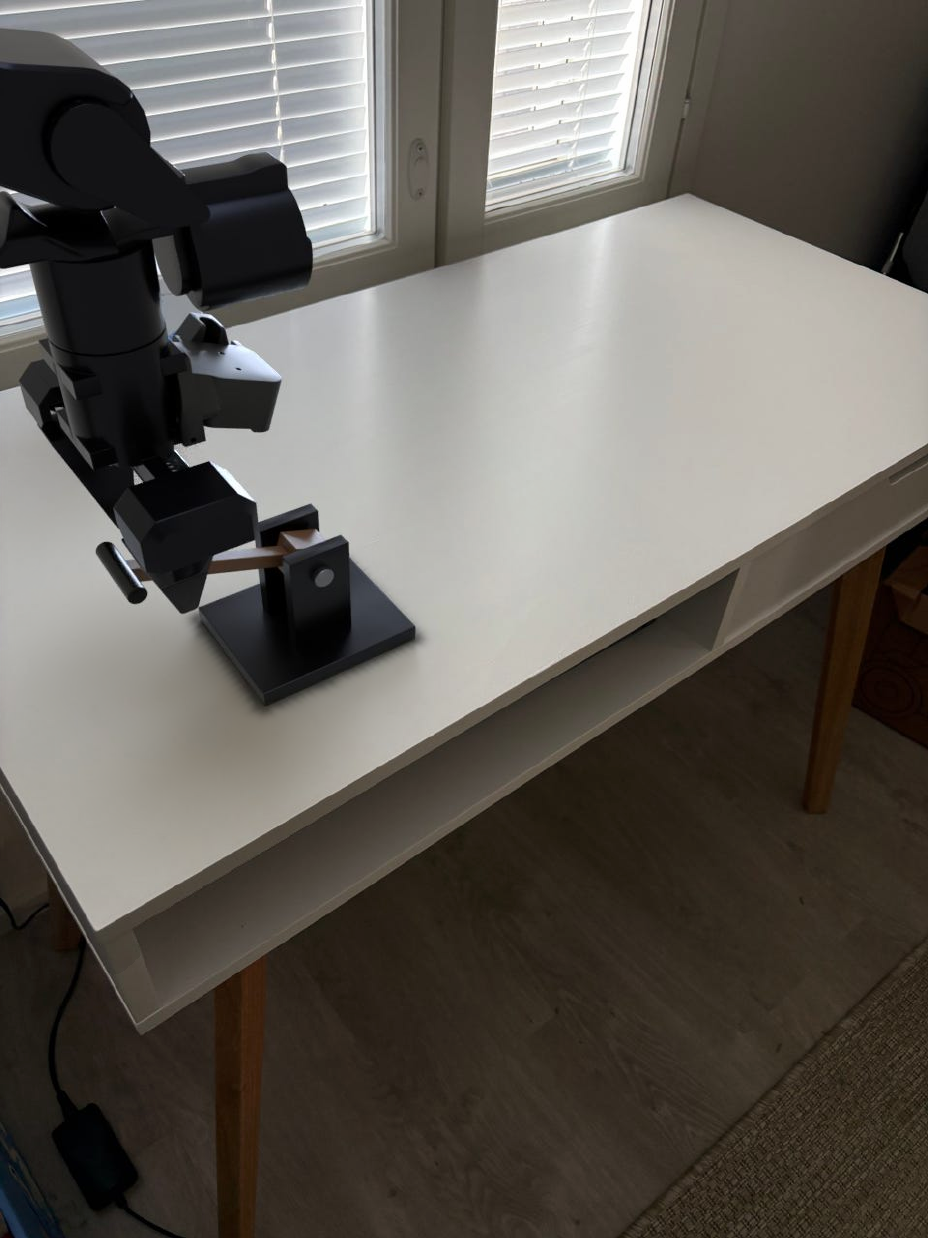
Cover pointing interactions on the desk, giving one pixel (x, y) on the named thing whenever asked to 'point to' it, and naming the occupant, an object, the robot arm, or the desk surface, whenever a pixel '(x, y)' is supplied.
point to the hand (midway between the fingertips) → (156, 566)
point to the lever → (132, 575)
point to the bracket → (304, 614)
